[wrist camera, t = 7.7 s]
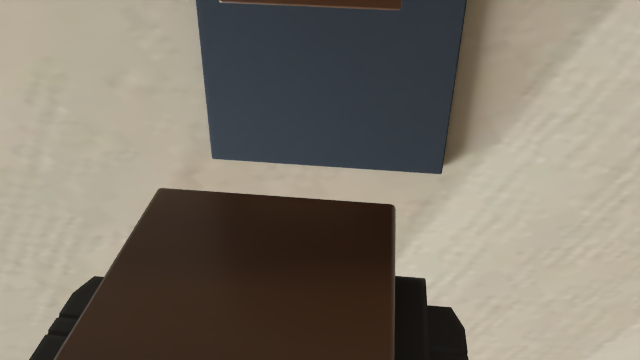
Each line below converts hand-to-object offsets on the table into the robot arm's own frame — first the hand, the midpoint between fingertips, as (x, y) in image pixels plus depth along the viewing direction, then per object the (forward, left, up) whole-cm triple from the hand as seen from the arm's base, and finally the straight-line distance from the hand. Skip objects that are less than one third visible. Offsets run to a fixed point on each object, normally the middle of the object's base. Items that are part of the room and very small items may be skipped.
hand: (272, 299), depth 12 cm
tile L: (0, 0, -1) cm, 1 cm away
